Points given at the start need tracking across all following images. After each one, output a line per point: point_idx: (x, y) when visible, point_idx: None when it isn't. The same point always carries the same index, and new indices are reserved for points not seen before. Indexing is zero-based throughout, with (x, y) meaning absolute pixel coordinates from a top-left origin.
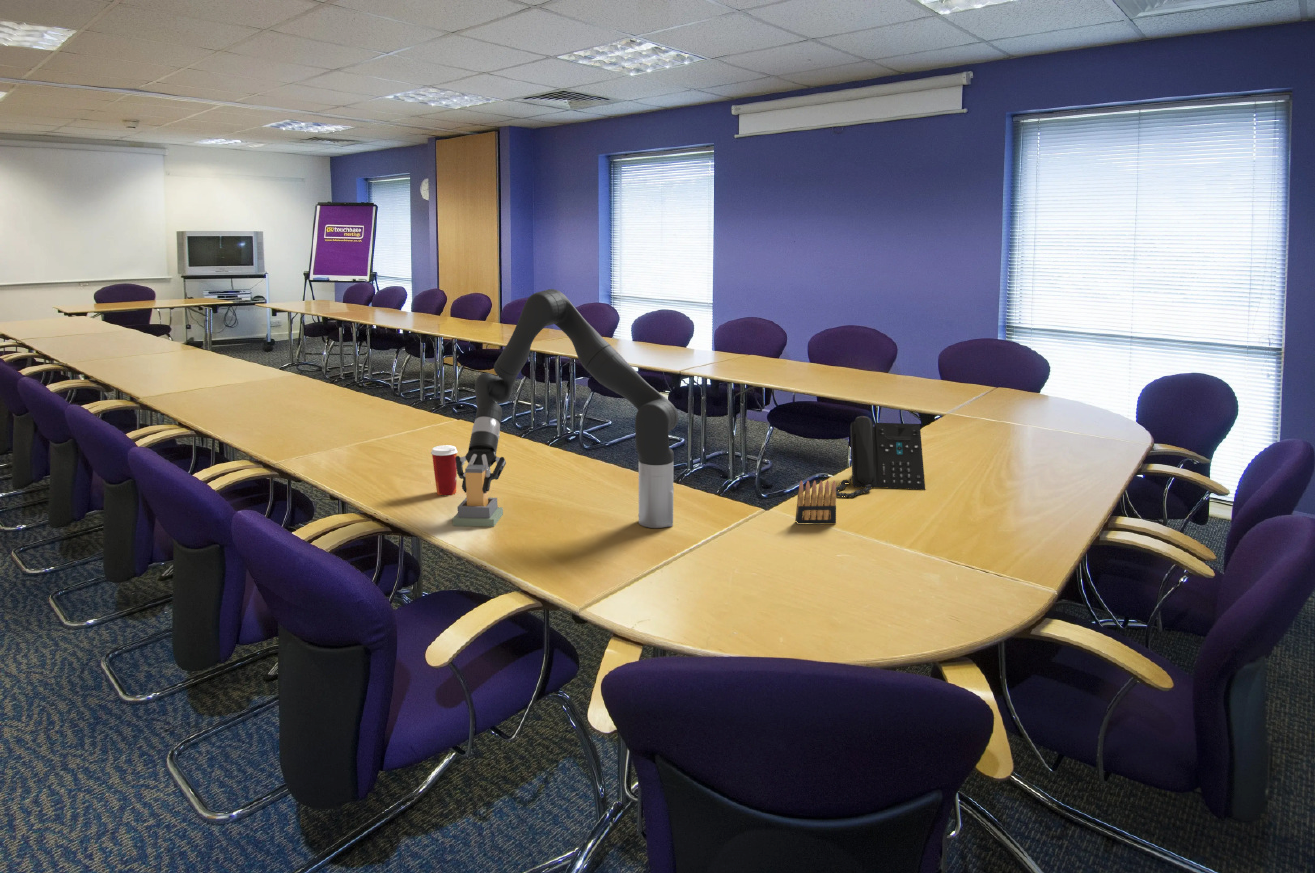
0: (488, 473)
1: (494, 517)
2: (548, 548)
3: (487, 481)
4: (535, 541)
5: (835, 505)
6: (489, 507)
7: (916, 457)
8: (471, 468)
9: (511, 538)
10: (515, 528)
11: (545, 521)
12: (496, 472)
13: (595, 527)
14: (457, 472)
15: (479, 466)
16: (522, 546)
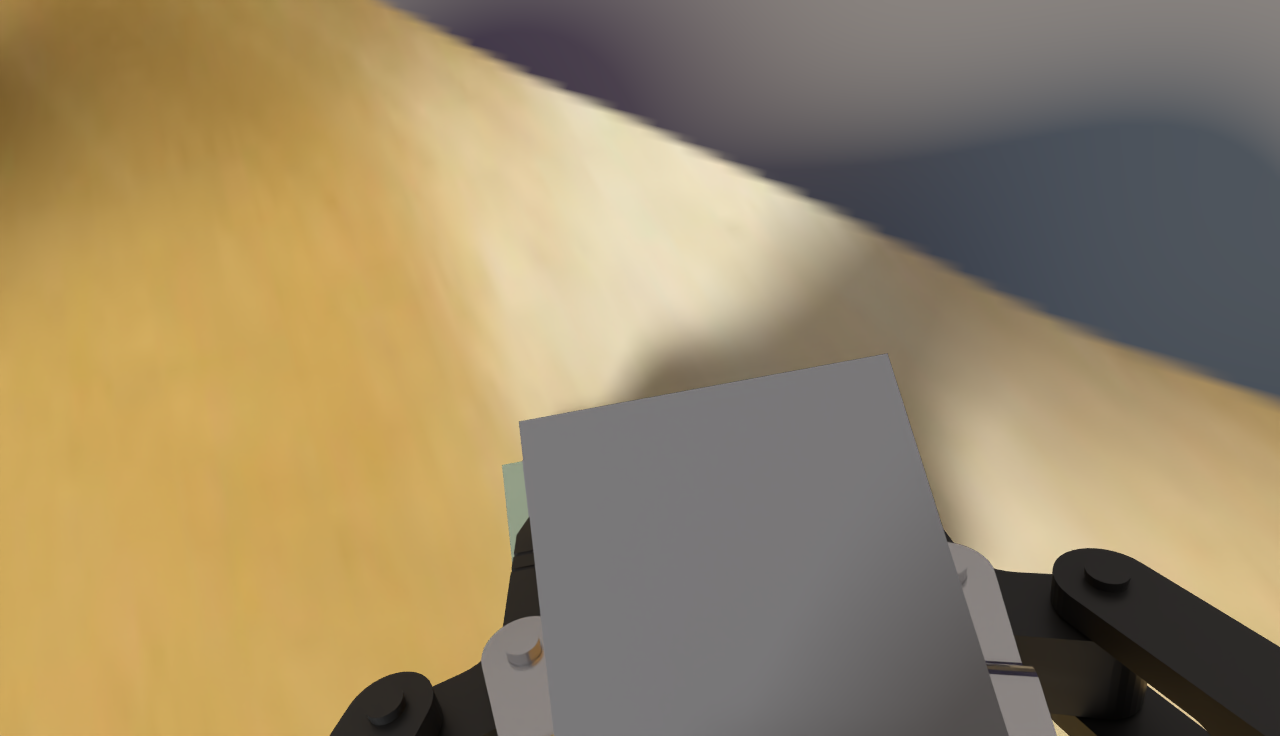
0: (511, 680)
1: (513, 514)
2: (66, 209)
3: (534, 593)
4: (157, 288)
5: None
6: (523, 469)
7: None
8: (772, 422)
9: (322, 295)
10: (343, 483)
11: (134, 711)
12: (347, 734)
13: None
14: (1146, 571)
15: (671, 630)
16: (224, 197)
